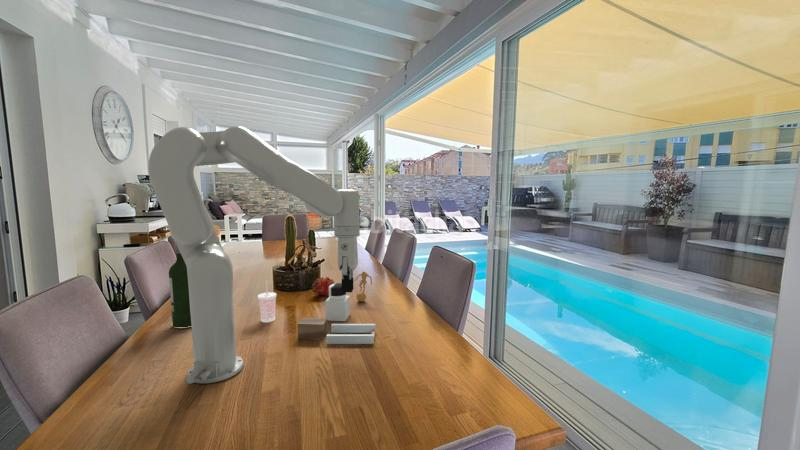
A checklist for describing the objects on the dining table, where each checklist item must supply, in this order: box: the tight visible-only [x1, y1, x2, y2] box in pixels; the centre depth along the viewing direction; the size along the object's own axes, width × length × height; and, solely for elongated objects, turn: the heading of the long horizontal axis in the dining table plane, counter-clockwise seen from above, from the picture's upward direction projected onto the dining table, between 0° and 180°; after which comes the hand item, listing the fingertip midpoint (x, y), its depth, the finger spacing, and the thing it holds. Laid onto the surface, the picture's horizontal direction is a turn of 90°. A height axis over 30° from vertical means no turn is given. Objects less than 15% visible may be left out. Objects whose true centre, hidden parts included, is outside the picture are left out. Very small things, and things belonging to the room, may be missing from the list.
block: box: [296, 317, 329, 341], centre depth 112 cm, size 5×8×5 cm, turn 86°
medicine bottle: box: [324, 282, 351, 322], centre depth 126 cm, size 7×7×12 cm
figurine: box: [353, 271, 373, 303], centre depth 144 cm, size 8×6×12 cm
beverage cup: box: [257, 280, 277, 323], centre depth 124 cm, size 6×6×14 cm
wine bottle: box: [168, 243, 192, 328], centre depth 119 cm, size 8×8×30 cm
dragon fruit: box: [311, 276, 335, 297], centre depth 152 cm, size 8×8×12 cm
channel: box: [325, 323, 376, 345], centre depth 111 cm, size 9×14×2 cm, turn 90°
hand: (347, 290), depth 109 cm, fingers closed
